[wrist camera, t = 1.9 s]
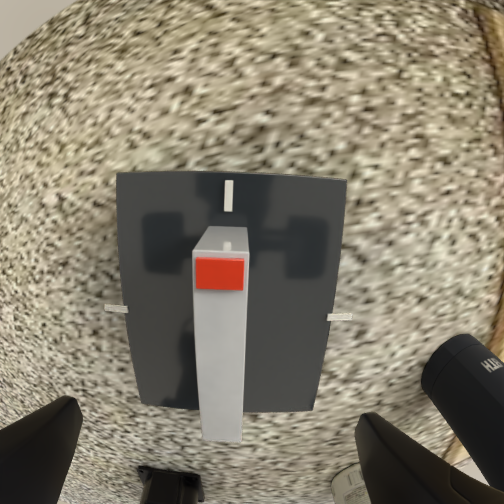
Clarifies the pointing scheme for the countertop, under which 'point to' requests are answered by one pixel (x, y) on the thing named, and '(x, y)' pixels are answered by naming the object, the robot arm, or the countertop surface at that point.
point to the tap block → (259, 280)
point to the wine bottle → (471, 400)
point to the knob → (221, 329)
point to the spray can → (350, 487)
